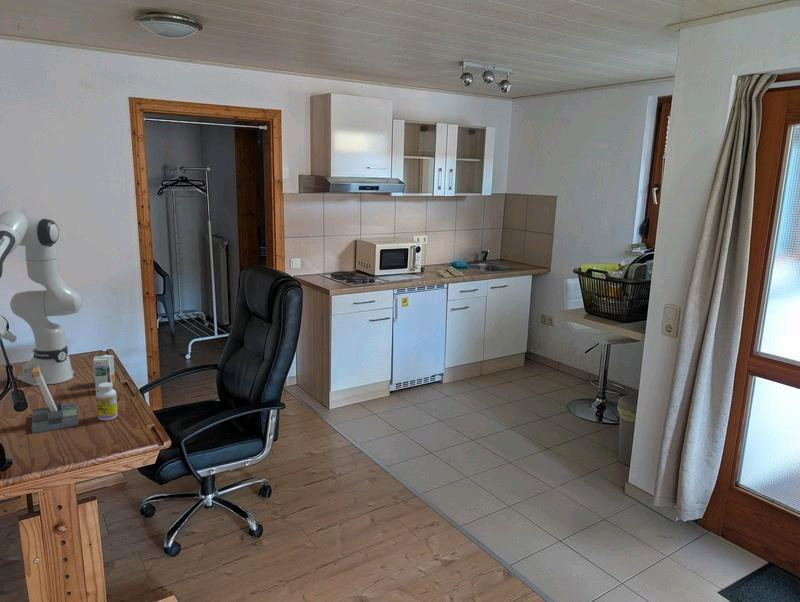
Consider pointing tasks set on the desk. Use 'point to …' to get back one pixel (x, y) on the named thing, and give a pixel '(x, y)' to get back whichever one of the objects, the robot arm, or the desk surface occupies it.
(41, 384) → the lever
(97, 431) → the desk surface
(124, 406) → the desk surface
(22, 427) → the desk surface
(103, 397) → the supplement bottle
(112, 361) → the skincare box
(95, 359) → the syrup box
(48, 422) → the breaker panel
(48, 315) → the robot arm
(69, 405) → the pair of grey rods
